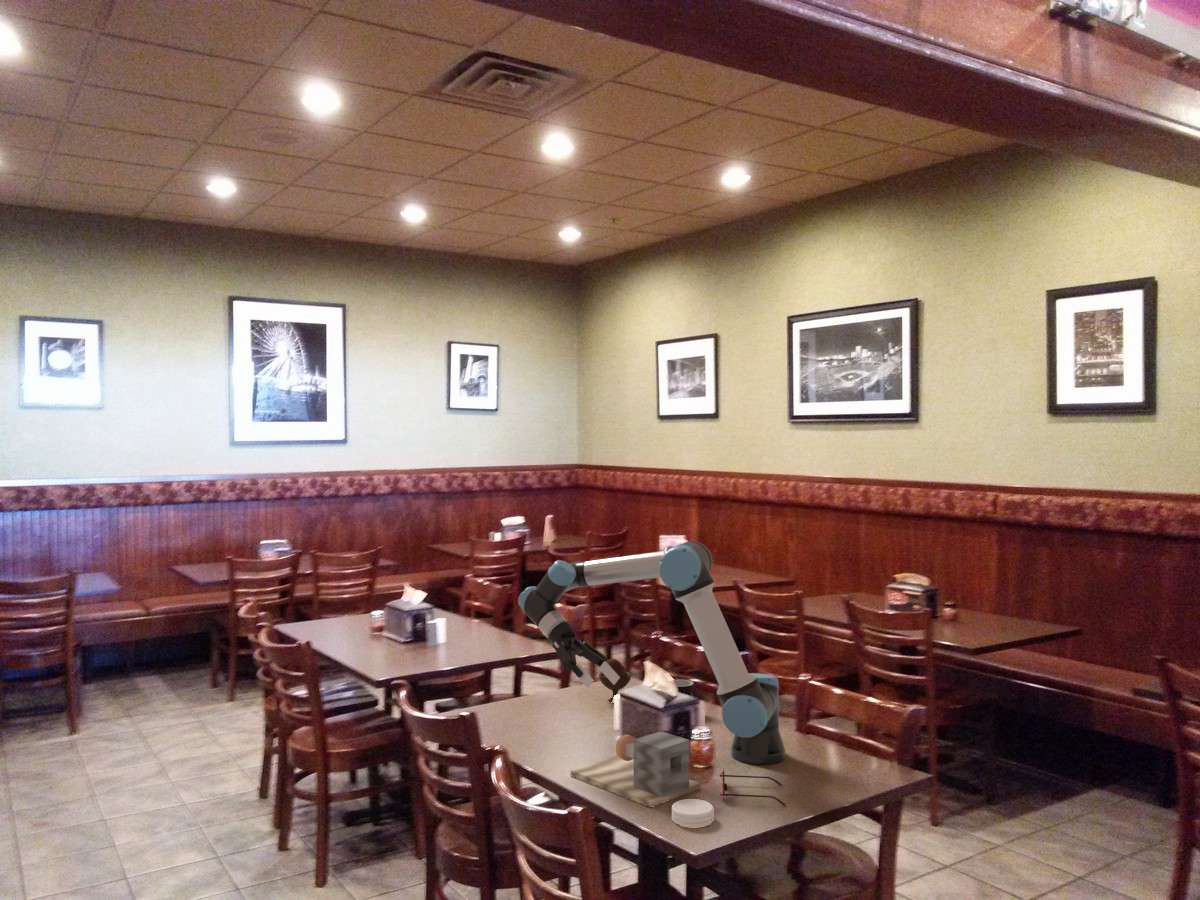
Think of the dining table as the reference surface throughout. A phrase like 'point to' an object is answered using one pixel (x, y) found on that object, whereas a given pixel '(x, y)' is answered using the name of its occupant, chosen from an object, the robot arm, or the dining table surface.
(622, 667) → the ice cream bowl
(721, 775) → the glasses
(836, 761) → the dining table surface
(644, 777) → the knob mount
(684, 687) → the coffee mug
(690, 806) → the white jar lid
